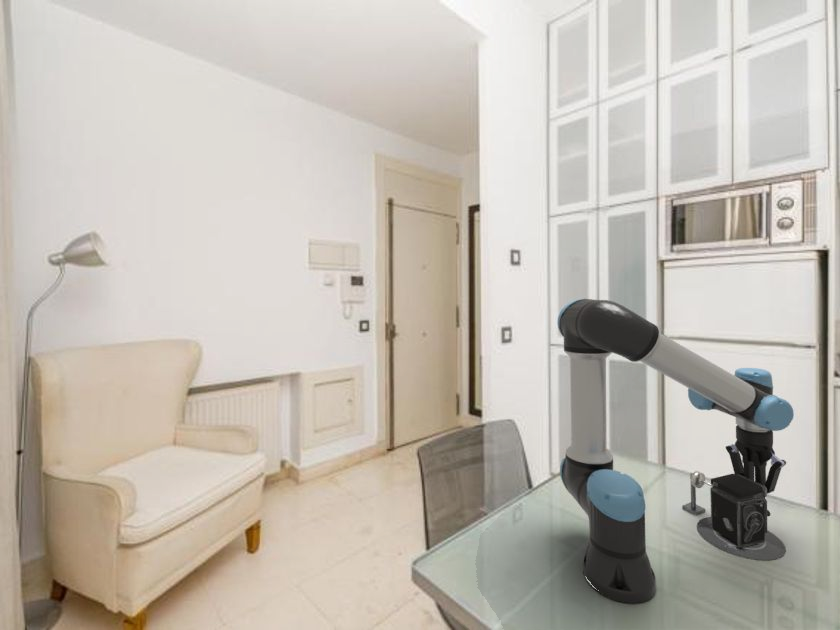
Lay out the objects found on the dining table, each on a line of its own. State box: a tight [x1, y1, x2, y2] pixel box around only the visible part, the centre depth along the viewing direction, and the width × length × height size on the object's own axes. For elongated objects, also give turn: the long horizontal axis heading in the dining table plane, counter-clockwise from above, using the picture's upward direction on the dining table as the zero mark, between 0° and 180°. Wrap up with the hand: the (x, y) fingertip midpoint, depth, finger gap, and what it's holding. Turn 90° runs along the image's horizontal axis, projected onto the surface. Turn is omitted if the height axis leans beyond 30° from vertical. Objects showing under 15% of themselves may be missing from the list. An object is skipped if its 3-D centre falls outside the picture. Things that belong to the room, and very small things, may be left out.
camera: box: [709, 473, 771, 547], centre depth 103 cm, size 10×10×15 cm
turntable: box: [696, 516, 786, 562], centre depth 103 cm, size 18×18×1 cm
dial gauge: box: [681, 470, 714, 516], centre depth 114 cm, size 4×8×12 cm, turn 21°
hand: (755, 513), depth 106 cm, fingers closed
